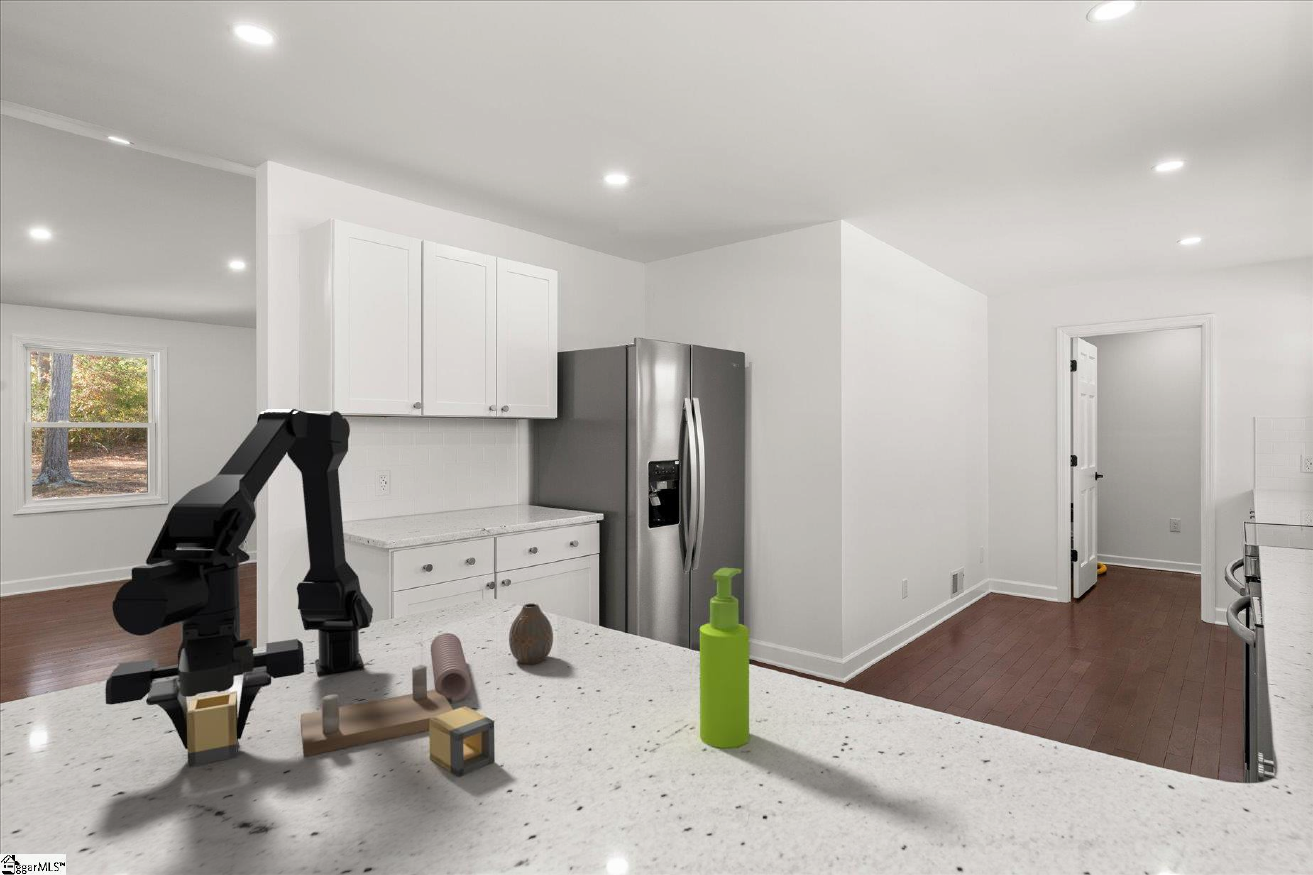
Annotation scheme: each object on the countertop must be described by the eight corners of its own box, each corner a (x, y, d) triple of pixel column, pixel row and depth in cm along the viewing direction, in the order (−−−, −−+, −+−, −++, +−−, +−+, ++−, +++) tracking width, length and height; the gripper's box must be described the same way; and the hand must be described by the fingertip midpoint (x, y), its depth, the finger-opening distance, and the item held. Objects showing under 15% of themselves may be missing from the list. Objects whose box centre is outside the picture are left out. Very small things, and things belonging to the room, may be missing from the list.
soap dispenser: (757, 727, 86) (757, 566, 86) (740, 752, 80) (739, 578, 80) (713, 719, 89) (712, 563, 88) (692, 742, 83) (692, 574, 82)
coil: (472, 669, 95) (462, 631, 112) (437, 669, 94) (432, 631, 111) (469, 703, 95) (459, 660, 112) (433, 704, 94) (428, 660, 111)
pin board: (300, 726, 87) (299, 682, 87) (440, 699, 96) (439, 659, 95) (303, 756, 80) (302, 708, 79) (455, 724, 88) (454, 681, 88)
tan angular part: (457, 734, 75) (429, 718, 79) (458, 777, 75) (429, 758, 79) (494, 720, 78) (465, 705, 82) (494, 761, 78) (465, 744, 82)
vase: (560, 655, 113) (560, 601, 113) (540, 669, 107) (539, 612, 107) (523, 650, 116) (522, 598, 115) (500, 664, 109) (500, 609, 109)
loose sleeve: (192, 749, 81) (191, 698, 81) (238, 740, 84) (237, 691, 83) (188, 766, 77) (186, 713, 77) (236, 757, 80) (235, 704, 79)
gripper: (91, 640, 68) (95, 797, 69) (304, 614, 77) (307, 753, 78) (114, 613, 78) (118, 750, 79) (301, 592, 87) (303, 715, 88)
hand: (213, 742), depth 80 cm, fingers closed on loose sleeve, 5 cm apart
